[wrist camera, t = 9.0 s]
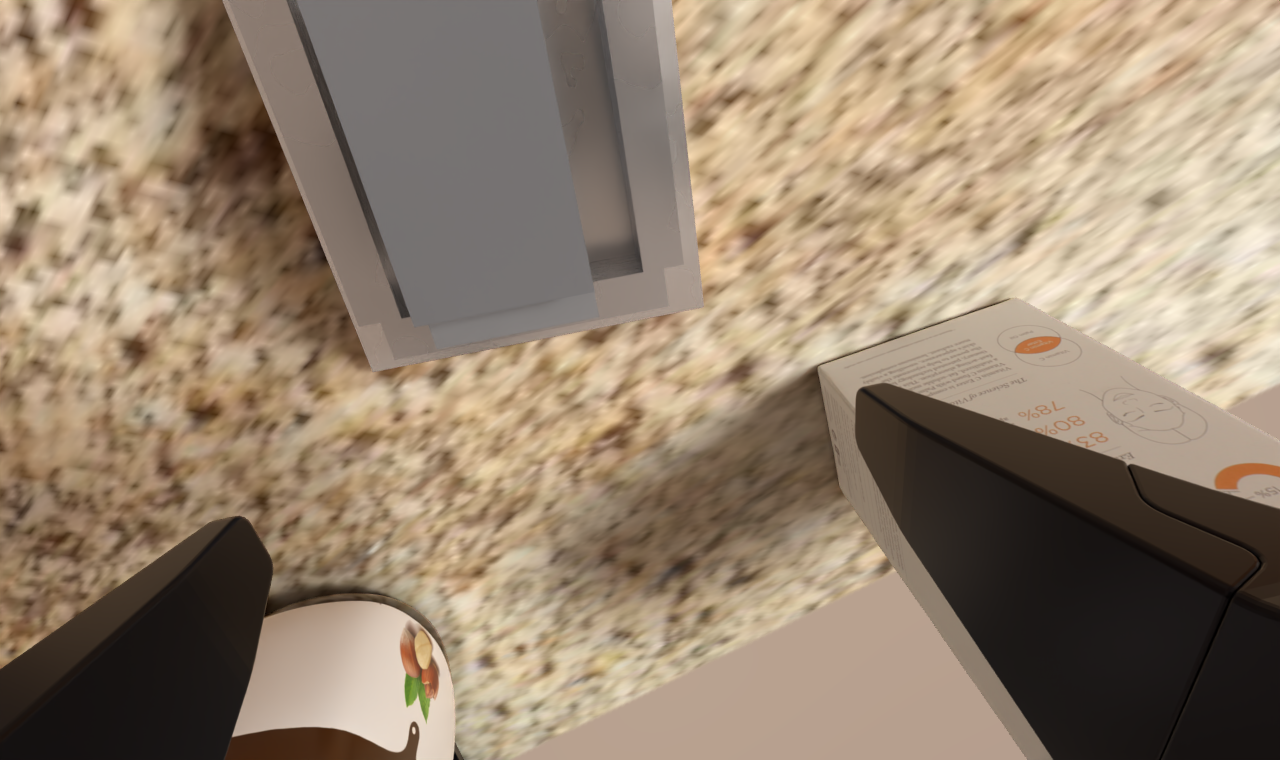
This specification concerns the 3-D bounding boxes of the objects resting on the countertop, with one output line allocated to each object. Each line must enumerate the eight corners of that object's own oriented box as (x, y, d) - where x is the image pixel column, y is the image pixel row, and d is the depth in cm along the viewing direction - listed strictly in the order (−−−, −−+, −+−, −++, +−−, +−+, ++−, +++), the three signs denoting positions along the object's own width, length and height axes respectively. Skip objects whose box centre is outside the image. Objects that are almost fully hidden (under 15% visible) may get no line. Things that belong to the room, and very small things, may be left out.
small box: (836, 488, 27) (1055, 816, 16) (812, 362, 24) (1064, 659, 13) (1020, 425, 27) (1375, 712, 15) (1020, 291, 24) (1465, 527, 12)
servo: (585, 257, 20) (603, 336, 15) (458, 281, 20) (430, 371, 14) (503, -155, 15) (485, -257, 10) (330, -128, 15) (218, -219, 9)
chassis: (698, 298, 22) (717, 329, 20) (378, 361, 21) (359, 400, 19) (638, -248, 15) (656, -299, 13) (164, -179, 14) (95, -218, 12)
